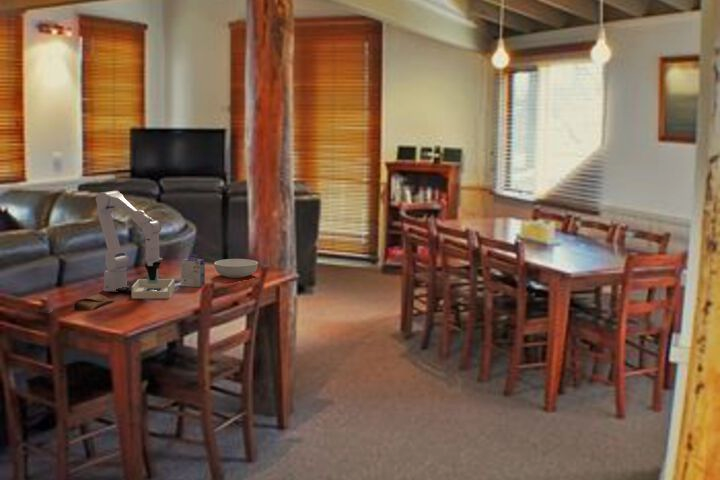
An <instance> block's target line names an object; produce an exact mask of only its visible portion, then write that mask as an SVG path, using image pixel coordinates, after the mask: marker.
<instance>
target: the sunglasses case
mask: <svg viewBox="0 0 720 480" xmlns="http://www.w3.org/2000/svg"><path fill="white" fill-rule="evenodd" d="M114 302H115V300H113V299H111V298H109V297H107V296H105V295H103V294H101V293H100V292H98V293H95V294H93V295H90V296H88V297H85V298H82V299H79V300H77V301H76V302H75V303H74V310H76V311H88V312H89V311H91V312H94V311H95V310H97V309H98V308H101V307H104V306H106V305H108V304H111V303H114Z"/></svg>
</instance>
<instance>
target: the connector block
mask: <svg viewBox="0 0 720 480" xmlns="http://www.w3.org/2000/svg"><path fill="white" fill-rule="evenodd" d="M146 273H147V277H146V278H147V279H148V284H157V283H158V282H159V280H158V279H159V269H158V268H157V271H156V278H155V280H150V279H149V275H148V271H147V270H146Z"/></svg>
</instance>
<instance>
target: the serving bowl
mask: <svg viewBox="0 0 720 480" xmlns="http://www.w3.org/2000/svg"><path fill="white" fill-rule="evenodd" d="M213 264H214V269H215V271H216V272H217V273H218V274H219V275H220V276H222V277H227V278H230V279H241V278H245V277H247V276H251V275H253V274H254V273H255V272H256V271H257V269H258V265H259V262H258V261H257V260H253V259H246V258H229V259H220V260H217V261H215V262H214V263H213Z"/></svg>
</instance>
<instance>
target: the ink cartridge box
mask: <svg viewBox="0 0 720 480" xmlns="http://www.w3.org/2000/svg"><path fill="white" fill-rule="evenodd" d="M205 271H206V264H205V258H202V259H201V258H198V254H197V253H190V254H189V257H188V258H182V259H181V260H180V286H181V287H192V288H193V287H195V288H201V287H204V286H206V275H205V274H206V272H205ZM203 285H204V286H203Z"/></svg>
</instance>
